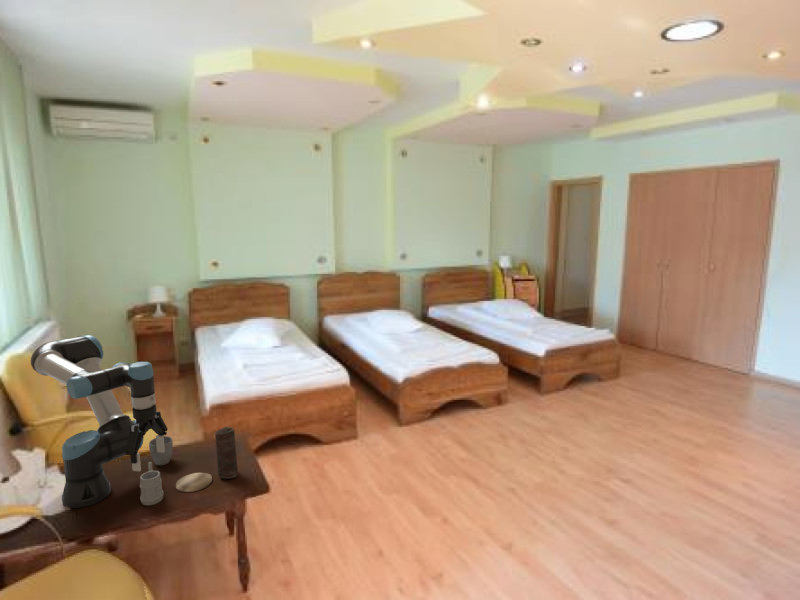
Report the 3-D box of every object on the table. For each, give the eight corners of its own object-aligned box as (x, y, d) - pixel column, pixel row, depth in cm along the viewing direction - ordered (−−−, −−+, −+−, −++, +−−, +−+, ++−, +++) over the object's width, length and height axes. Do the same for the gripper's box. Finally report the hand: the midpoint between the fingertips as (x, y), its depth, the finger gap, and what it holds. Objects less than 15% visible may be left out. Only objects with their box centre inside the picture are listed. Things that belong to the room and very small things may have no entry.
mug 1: (176, 463, 201) (174, 441, 199) (152, 469, 195) (150, 447, 194) (170, 452, 210) (168, 431, 208) (147, 457, 205) (145, 436, 203)
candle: (222, 483, 186) (218, 435, 182) (214, 475, 191) (211, 428, 188) (241, 476, 191) (238, 429, 187) (233, 469, 196) (230, 423, 193)
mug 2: (140, 508, 170) (137, 477, 168) (141, 491, 180) (138, 461, 178) (164, 502, 173) (161, 472, 171) (163, 486, 184) (161, 457, 181)
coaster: (168, 490, 181) (168, 489, 180) (188, 472, 193) (187, 471, 193) (200, 493, 179) (200, 492, 179) (218, 475, 192) (218, 473, 191)
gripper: (129, 420, 158) (135, 479, 161) (174, 393, 182) (179, 445, 186) (109, 419, 159) (115, 478, 162) (156, 392, 183) (161, 444, 187)
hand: (149, 461), depth 174 cm, fingers open, 13 cm apart
